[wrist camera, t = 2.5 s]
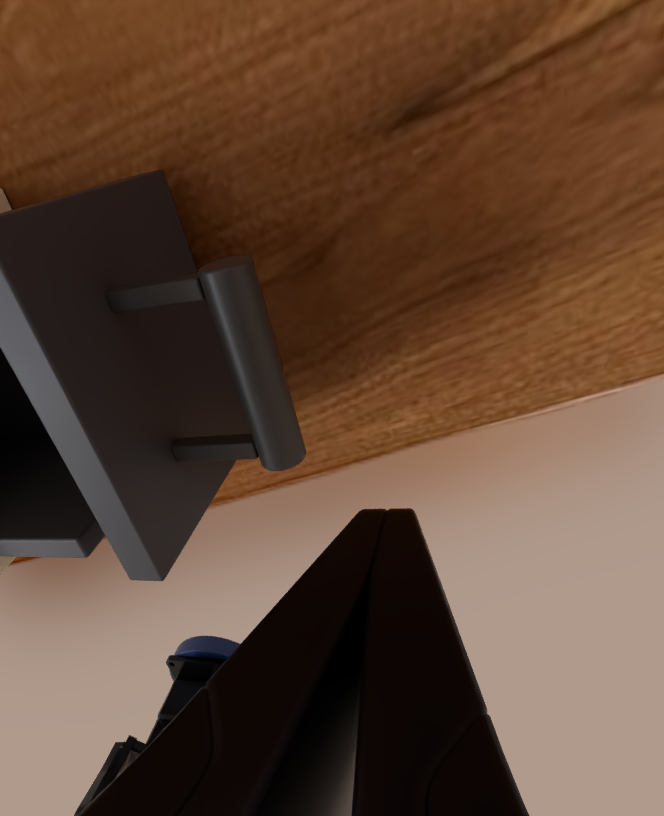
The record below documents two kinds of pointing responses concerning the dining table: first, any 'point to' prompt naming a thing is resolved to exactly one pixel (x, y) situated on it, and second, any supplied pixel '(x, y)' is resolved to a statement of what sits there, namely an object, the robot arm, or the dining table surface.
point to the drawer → (127, 377)
